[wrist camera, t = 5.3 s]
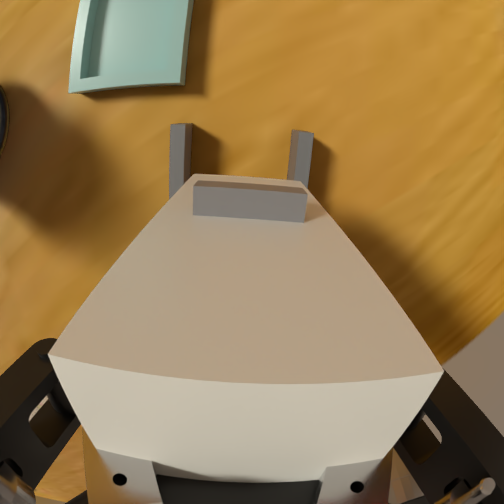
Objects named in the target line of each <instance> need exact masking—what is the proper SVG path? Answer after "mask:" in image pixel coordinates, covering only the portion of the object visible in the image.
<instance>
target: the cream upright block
mask: <svg viewBox="0 0 504 504" xmlns="http://www.w3.org/2000/svg"><path fill="white" fill-rule="evenodd" d="M48 356H49V358H50V361H51V363H52V366H53V368H54V370H55V372H56V375H57V377H58V379H59V381H60V383H61V386H62V388H63V390H64V392H65V394H66V396H67V398H68V400H69V402H70V404H71V406H72V408H73V410H74V412H75V413H76V415H77V417H78V419H79V421H80V423H81V424H82V426H83V428H84V430H85V431H86V433H87V435H88V436H89V438H90V440H91V441H92V443H93V445H94V446H95V448H96V449H100V450H104V451H108V452H112V453H116V454H120V455H125V456H129V457H134V458H139V459H144V460H150V461H152V463H153V466H154V468H155V470H156V473H157V474H159V475H165V476H172V477H180V478H188V479H197V480H208V481H222V482H247V483H270V482H295V481H309V480H319V478H320V476H321V475H322V473H323V472H324V470H325V469H326V467H330V466H338V465H346V464H353V463H359V462H366V461H371V460H377V459H382V458H384V457H385V455H386V454H387V453H388V452H389V451H390V449H391V448H392V447H393V446H394V444H395V443H396V442H397V441H398V439H399V438H400V437H401V435H402V434H403V433H404V431H405V430H406V429H407V427H408V426H409V425H410V423H411V422H412V420H413V419H414V418H415V416H416V415H417V413H418V412H419V410H420V409H421V407H422V406H423V404H424V403H425V401H426V400H427V398H428V397H429V395H430V394H431V392H432V391H433V389H434V387H435V386H436V384H437V383H438V381H439V379H440V378H441V376H442V374H443V372H444V370H443V369H442V367H441V365H440V364H439V362H438V361H437V359H436V358H435V356H434V355H433V353H432V351H431V350H430V348H429V347H428V345H427V344H426V342H425V341H424V339H423V338H422V336H421V335H420V333H419V332H418V331H417V329H416V328H415V326H414V325H413V323H412V322H411V320H410V319H409V318H408V316H407V315H406V313H405V312H404V310H403V309H402V308H401V306H400V305H399V303H398V302H397V301H396V299H395V298H394V297H393V295H392V294H391V292H390V291H389V290H388V288H387V287H386V286H385V284H384V283H383V282H382V280H381V279H380V278H379V276H378V275H377V274H376V272H375V271H374V270H373V268H372V267H371V266H370V265H369V263H368V262H367V261H366V259H365V258H364V257H363V256H362V254H361V253H360V252H359V250H358V249H357V248H356V247H355V245H354V244H353V243H352V242H351V240H350V239H349V238H348V237H347V235H346V234H345V233H344V232H343V231H342V229H341V228H340V227H339V226H338V225H337V223H336V222H335V221H334V220H333V218H332V217H331V216H330V215H329V214H328V213H327V211H326V210H325V209H324V208H323V207H322V205H321V204H320V203H319V202H318V201H317V200H316V198H315V197H314V196H313V195H312V194H311V193H310V192H309V190H308V189H307V188H306V187H305V186H304V185H303V184H302V183H301V181H293V180H282V179H271V178H258V177H245V176H229V175H211V174H193V175H192V176H191V177H190V178H189V179H188V180H187V181H186V182H185V184H184V185H183V186H182V187H181V188H180V189H179V190H178V191H177V192H176V193H175V194H174V195H173V196H172V197H171V198H170V200H169V201H168V202H167V203H166V204H165V205H164V206H163V207H162V208H161V209H160V211H159V212H158V213H157V214H156V215H155V216H154V217H153V218H152V219H151V221H150V222H149V223H148V224H147V225H146V226H145V227H144V229H143V230H142V231H141V232H140V233H139V234H138V236H137V237H136V238H135V239H134V240H133V241H132V243H131V244H130V245H129V246H128V247H127V249H126V250H125V251H124V252H123V253H122V255H121V256H120V257H119V258H118V259H117V261H116V262H115V263H114V264H113V266H112V267H111V268H110V269H109V271H108V272H107V273H106V274H105V276H104V277H103V278H102V279H101V281H100V282H99V283H98V285H97V286H96V287H95V288H94V290H93V291H92V292H91V294H90V295H89V296H88V298H87V299H86V300H85V302H84V303H83V304H82V306H81V307H80V308H79V310H78V311H77V313H76V314H75V315H74V317H73V318H72V319H71V321H70V322H69V324H68V325H67V326H66V328H65V329H64V331H63V332H62V334H61V335H60V337H59V338H58V339H57V341H56V342H55V344H54V345H53V347H52V348H51V350H50V351H49V353H48Z"/></svg>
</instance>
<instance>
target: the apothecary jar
mask: <svg viewBox="0 0 504 504" xmlns="http://www.w3.org/2000/svg"><path fill="white" fill-rule="evenodd" d="M8 128H9V108H8V103H7V99H6V96H5V93H4V91H3V89H2V88H1V87H0V155H1V153H2V151H3V149H4V146H5V143H6V139H7V134H8Z"/></svg>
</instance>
